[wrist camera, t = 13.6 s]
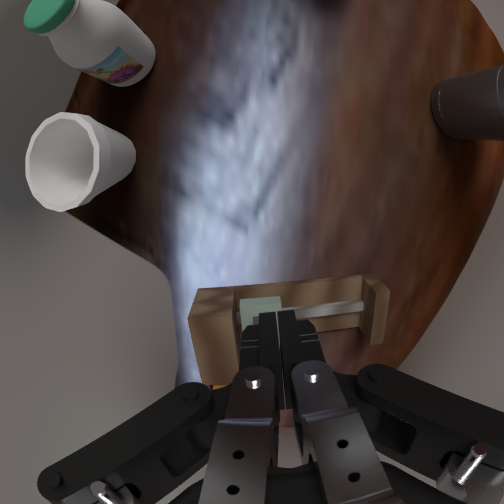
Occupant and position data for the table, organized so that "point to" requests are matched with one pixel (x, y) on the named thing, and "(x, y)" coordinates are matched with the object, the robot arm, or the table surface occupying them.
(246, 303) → the sliding handle
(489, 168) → the table surface
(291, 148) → the table surface
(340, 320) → the brown mechanism housing
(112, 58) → the milk bottle
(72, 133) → the foam cup
